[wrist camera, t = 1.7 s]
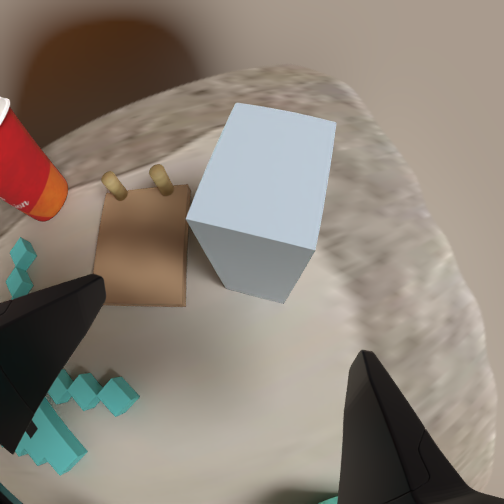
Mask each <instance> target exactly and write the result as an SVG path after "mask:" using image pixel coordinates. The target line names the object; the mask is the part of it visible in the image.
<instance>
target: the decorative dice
mask: <svg viewBox="0 0 504 504" xmlns="http://www.w3.org/2000/svg"><path fill="white" fill-rule="evenodd" d="M337 500H338V496H337V497H334V498H331V499H328V500H325V501H323V502H321V503H319V504H337Z"/></svg>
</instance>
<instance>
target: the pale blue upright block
mask: <svg viewBox="0 0 504 504" xmlns="http://www.w3.org/2000/svg"><path fill="white" fill-rule="evenodd" d="M335 129H336V122H332V121H328V120H324V119H320V118H316V117H312V116H308V115H303V114H298V113H294V112H289V111H284V110H279V109H273V108H267V107H261V106H255V105H249V104H242V103H236V104H235V106H234V108H233V110H232V112H231V114H230V116H229V118H228V121H227V123H226V125H225V127H224V129H223V131H222V133H221V136H220V138H219V140H218V142H217V145H216V147H215V149H214V151H213V154H212V156H211V158H210V160H209V163H208V165H207V167H206V170H205V172H204V175H203V177H202V179H201V182H200V184H199V187H198V189H197V192H196V194H195V197H194V199H193V202H192V204H191V207H190V209H189V212H188V214H187V217H186V220H187V222H188V224H189V226H190V227H191V229H192V231H193V233H194V235H195V236H196V238H197V240H198V242H199V243H200V245H201V247H202V249H203V250H204V252H205V254H206V255H207V257H208V259H209V261H210V262H211V264H212V266H213V267H214V269H215V271H216V273H217V274H218V276H219V278H220V279H221V281H222V283H223V284H224V286H225V288H226V289H229V290H233V291H237V292H240V293H244V294H248V295H252V296H256V297H259V298H263V299H267V300H271V301H275V302H279V303H283V304H284V303H285V301H286V299H287V298H288V296H289V294H290V293H291V291H292V289H293V288H294V286H295V284H296V283H297V281H298V279H299V278H300V276H301V274H302V272H303V271H304V269H305V267H306V266H307V264H308V262H309V260H310V259H311V257H312V255H313V253H314V252H315V249H316V244H317V239H318V234H319V229H320V224H321V218H322V213H323V207H324V201H325V196H326V190H327V184H328V178H329V171H330V165H331V158H332V151H333V144H334V137H335Z"/></svg>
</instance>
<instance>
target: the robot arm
mask: <svg viewBox="0 0 504 504" xmlns="http://www.w3.org/2000/svg"><path fill="white" fill-rule="evenodd" d="M105 300H106V289H105V283H104V279H103V277H102V276H99V275H97V274H90V275H87V276H84V277H80V278H77V279H74V280H71V281H68V282H64V283H61V284H58V285H55V286H52V287H49V288H45V289H42V290H39V291H36V292H33V293H30V294H27V295H24V296H21V297H18V298H15V299H13V300H9V301H6V302H3V303H0V444H1V445H2V446H3V447H4V448H5V449H6V450H8V451H9V452H10V453H11V454H14V452H15V450H16V448H17V446H18V445H19V443H20V441H21V439H22V437H23V435H24V433H25V431H26V429H27V427H28V426H29V424H30V422H31V420H32V418H33V417H34V414H35V413H36V411H37V409H38V408H39V406H40V404H41V403H42V401H43V399H44V397H45V396H46V394H47V392H48V391H49V389H50V388H51V386H52V384H53V383H54V381H55V380H56V378H57V376H58V375H59V373H60V372H61V370H62V369H63V367H64V366H65V364H66V363H67V361H68V360H69V358H70V357H71V355H72V354H73V352H74V351H75V349H76V348H77V346H78V345H79V343H80V342H81V340H82V339H83V338H84V336H85V335H86V333H87V331H88V330H89V328H90V326H91V325H92V323H93V321H94V319H95V318H96V316H97V314H98V312H99V311H100V309H101V307H102V306H103V304H104V302H105ZM0 504H23V503H22V502H20V501H19V500H18V499H17V498H16V497H15V496H14V495H13V494H12V493H11V492H9V491H8V490H7V489H6V488H5V487H4V486H3V485H2V484H1V483H0ZM337 504H504V499H503V498H499V497H495V496H491V495H487V494H484V493H480V492H477V491H475V490H473V489H472V488H470V487H469V486H468V485H467V484H466V483H465V482H464V480H463V479H462V478H461V477H460V475H459V474H458V473H457V471H456V470H455V469H454V468H453V466H452V465H451V464H450V462H449V461H448V460H447V459H446V457H445V456H444V455H443V453H442V452H441V451H440V449H439V448H438V446H437V445H436V443H435V442H434V440H433V439H432V437H431V436H430V434H429V433H428V431H427V430H426V429H425V427H424V425H423V424H422V422H421V421H420V419H419V418H418V416H417V415H416V413H415V412H414V410H413V409H412V407H411V406H410V404H409V403H408V401H407V400H406V398H405V397H404V395H403V394H402V392H401V391H400V389H399V388H398V387H397V385H396V384H395V382H394V381H393V379H392V378H391V376H390V375H389V374H388V372H387V371H386V369H385V368H384V366H383V365H382V364H381V362H380V361H379V359H378V358H377V357H376V355H375V354H374V353H373V352H372V351H367V350H361V351H360V352H359V353H358V355H357V357H356V358H355V360H354V362H353V363H352V365H351V367H350V370H349V376H348V385H347V392H346V400H345V407H344V420H343V443H342V458H341V471H340V482H339V491H338V500H337Z"/></svg>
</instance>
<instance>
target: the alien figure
mask: <svg viewBox="0 0 504 504" xmlns="http://www.w3.org/2000/svg"><path fill="white" fill-rule="evenodd" d="M10 255H11V257H12V259H13V262H14V264H15V268H14V270H13V271H12V273H11V274H10V276H9V277H8V279H7V280H6V284H7V286H8V289H9V291H10V293H11V295H12V298H11V300H13V299H15V298H18V297H21V296H24V295H27V294H28V293H29V291H30V290H31V288H32V287H33V284H32V282H31V280H30V278H29V276H28V274H27V272H26V270H27V269H28V268H29V266H30V265H31V263H32V262H33V261H34V259H35V258H36V256H37V255H36V253H35V251H34V249H33V247H32V245H31V243H30V242H28V241H26V240H24V239H23V238H21V237H20V238H19V240H18V241H17V243H16V244H15V246H14V247H13V248H12V250H11V251H10ZM48 393H49V395H50V396H51V398H52V399H53V401H54V402H55V403H56V404H61V403H65V402H68V401H69V399H70V398H71V397H73V398H74V400H75V401H76V402H77V404H78V405H79V406H80V407H81V409H82V410H83V411H85V410H88V409H91V408H94V407H95V406H96V405H97V404H98V403H99V401H100V400H101V401H102V402H103V404H104V405H105V406H106V407H107V408H108V409H109V410H110V412H111V413H112V414H113V415H114V416H115V417H116V416H119V415H121V414H123V413H125V412H126V411H127V410H128V409H129V408H130V407H131V406H132V405H133V404H134V403H135V401H136V400H137V399H138V398H139V397H140V396H139V395H138V394H137V393H136V392H135V391H134V390H133V389H132V388H131V387H130V385H129V384H128V383H127V382H126V381H125V380H124V379H123V378H122V377H116V378H111V379H110V381H109V382H108V383H107V384H106V385H105V386H104V387H103V388H102V386H101V385H100V384H99V383H98V382H97V380H96V379H95V378H94V377H93V375H92V374H91V373H87V374H79V376H78V377H77V378H76V379H75V381H74V382H73V380H72V379H71V378H70V376H69V375H68V374H67V372H66V371H65V369H62V370H61V372H60V373H59V375H58V376H57V378H56V380H55V381H54V383H53V384H52V386H51V388H50V389H49V391H48ZM1 446H2V445H1ZM2 447H3V446H2ZM15 452H16V453H17V455H18V456H22V455H25V454H29V455H30V457H31V458H32V459H33V461H34V462H35V463H36V465H37V466H39V465H41V464H44V463H46V462H49V464H50V465H51V466H52V467H53V468H54V470H55V471H56V472H57V473H58V474H59V475H62V474H64V473H66V472H68V471H69V470H70V469H71V468H72V467H73V466H74V465H75V464H76V463H77V462H78V461H79V460H80V459H81V458H82V457H83V456H84V455H85V454H86V453H87V452H88V451H87V450H86V449H85V448H84V447H83V445H82V444H81V443H80V442H79V441H78V440H77V438H76V437H75V436H74V435H73V434H72V432H71V431H70V430H69V429H68V427H67V426H66V425H65V424H64V422H63V421H62V420H61V418H60V417H59V416H58V415H57V413H56V412H55V410H54V409H53V408H52V406H51V405H50V403H49V402H48V401H47V399H46V398H45V397H44V399H43V401H42V403H41V404H40V406H39V408H38V409H37V411H36V413H35V414H34V417H33V418H32V420H31V422H30V424H29V426H28V427H27V429H26V431H25V433H24V435H23V437H22V439H21V441H20V443H19V445H18V446H17V448H16V450H15Z"/></svg>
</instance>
